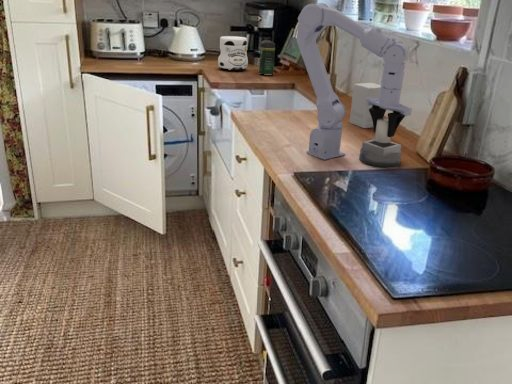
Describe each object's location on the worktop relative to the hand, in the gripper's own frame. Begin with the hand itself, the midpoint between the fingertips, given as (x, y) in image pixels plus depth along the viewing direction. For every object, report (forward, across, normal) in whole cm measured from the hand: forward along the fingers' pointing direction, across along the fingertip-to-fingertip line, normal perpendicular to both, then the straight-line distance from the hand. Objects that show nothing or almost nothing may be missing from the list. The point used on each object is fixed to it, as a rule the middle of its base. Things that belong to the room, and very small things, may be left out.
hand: (383, 134), depth 143 cm
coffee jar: (+9, +131, -61) cm, 145 cm away
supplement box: (+9, +32, -30) cm, 45 cm away
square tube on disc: (+9, +1, -2) cm, 9 cm away
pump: (+2, 0, 0) cm, 2 cm away
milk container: (+9, +152, -53) cm, 161 cm away
